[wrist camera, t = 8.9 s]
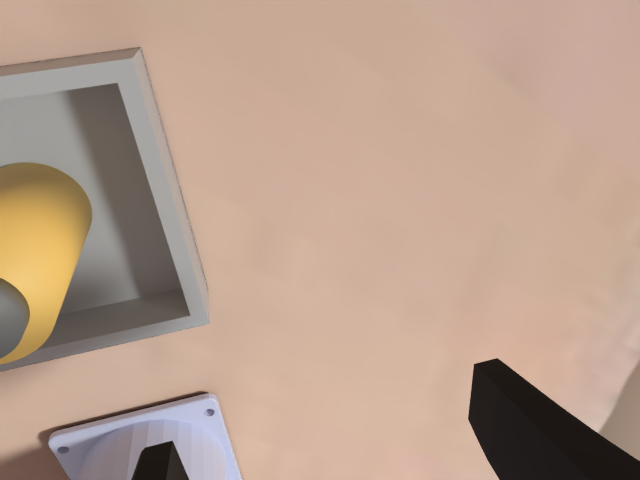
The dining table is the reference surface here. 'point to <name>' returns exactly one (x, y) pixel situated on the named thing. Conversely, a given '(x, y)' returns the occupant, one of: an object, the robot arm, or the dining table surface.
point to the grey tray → (108, 198)
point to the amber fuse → (37, 251)
